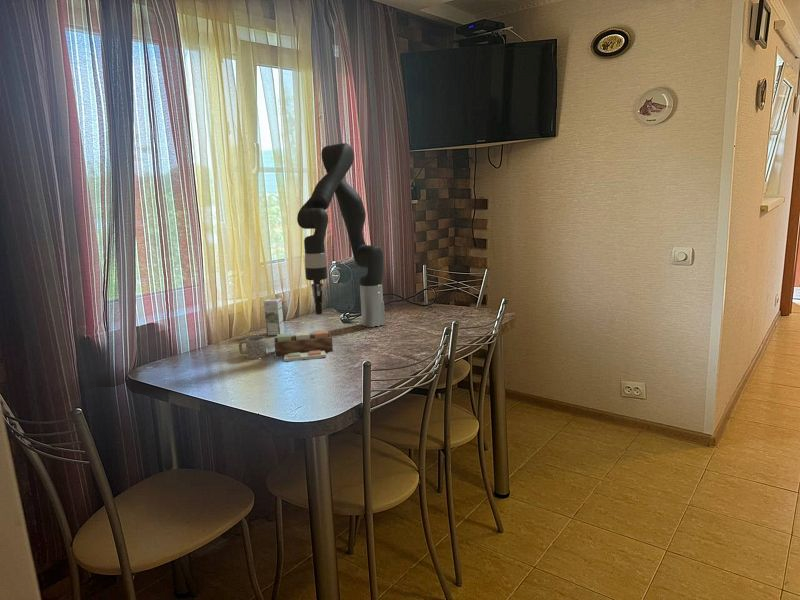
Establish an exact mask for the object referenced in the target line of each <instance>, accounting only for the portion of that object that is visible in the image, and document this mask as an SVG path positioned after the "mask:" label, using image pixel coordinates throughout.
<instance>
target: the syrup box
mask: <svg viewBox="0 0 800 600" xmlns="http://www.w3.org/2000/svg"><path fill="white" fill-rule="evenodd" d="M263 306H264V318H265V320H264V321H265V327H266V335H267V336H272V337H273V336H274V337H275V336H277V334H282V333H283V334H285V327H284V326H285V325H284V324H285V323H284V316H283V314H284V313H283V303H282V297H279V298H278V297H271V298H269V297H268V298H267V297H266V299H264V300H263Z"/></svg>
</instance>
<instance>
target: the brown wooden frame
mask: <svg viewBox="0 0 800 600" xmlns="http://www.w3.org/2000/svg"><path fill="white" fill-rule="evenodd" d="M291 340H292V341H285V342H278V340H277V336H276V337H275V336H274V353H275V358H280V357H281V356H282V357H284V355H287V354H289V353H297V352H300V353H306V352H309V351H317V350H321V351H325V353H330V351H331V352H334V348H333V347H334V346H333V337H332V334H331V332H330V331H328V337H326V338H314V333H310V339H305V340H296V335H291ZM282 357H281V358H282Z"/></svg>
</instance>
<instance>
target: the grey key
mask: <svg viewBox="0 0 800 600" xmlns="http://www.w3.org/2000/svg"><path fill="white" fill-rule="evenodd" d="M310 334H311V333H310V331H308V330H307V331H298V332H295V336H296V340H305V339H310Z"/></svg>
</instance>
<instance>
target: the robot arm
mask: <svg viewBox="0 0 800 600" xmlns="http://www.w3.org/2000/svg"><path fill="white" fill-rule="evenodd" d="M321 160H322V164H323V167H324V170H325V172H326V174H325V175H324V176H323V177H322V178H320V180H319V181H318V182H317V184H316V186H315V187H314V189H313V191H312V194H311V196H310V197H309V199H308V200H307V201H305V202H304V204H303V205H302V206H301V208H300V209H299V210H298V212H297V217H296V221H297V224H298V227H300V228H301V229H304V230H310V229H311V230H314V233H313V234H312V235H307V236H305V237H304V239H303V245H304V271H305V279H306V281H312V282H313V283H311V291H312V297H313V301H314V302H313V303H314V306H315V307H314V308H315V309H314V310H315V314H316V315H322V314H323V305H322V304H323V298H324V295H323V294H324V293H323V291H324V284H323V283H321V281H323V280H327V278H328V267H327V266H328V265H327V256H326V247H325V239H326V232H327V227H328V225H329V224H328V223H329V215H328V213H327V209H329V207H330V204H331V202H332V200H333V197H334V195H335V198H336V200H337V203H338V207H339V210H340V213H341V216H342V219H343V221H344V224H345V228H346V231H347V235H348V239H349V241H350V243H349V244H350V248H351V252H352V257H353V260H354V262H355V264H356V265H357V266H358V267H359V268H366V269H367V272H366V274H365V275H364V276H361V277H360V278H359V293H360V294H359V295H360V296H359V297H360V308H361V309H360V310H361V312H360V313H361V325H363V327H365V326H366V327H365V328H376V327H375V326H378V327H381V326H380V325H382V326H385V325H386V314H385V313H386V312H385V310H386V309H385V302H384V295H383V294H384V292H383V278H384V252H383V250H382V248H381V247H380V246H378V245H370V244H369V245H368V244H367V243H366V242H365V238H364V234H363V233H364V232H363V231H364V226H365V222H366V215H367V214H366V209H365V205H364V203H363V200H362V197H361V196H360V194H359V193H358V192H357V191H356V190H355V189H354V188H353V186H351V185H350V184H349V183H348V182H347V180H346V179H345V178H344V177H345V176H346V174H348V172H349V170H350V169H351V167H352V165H353V163H354V160H355V154H354V150H353V148H352V146H351V145H350V144H349V143H345V142H342V143H341V142H340V143H336V144H330V145H325V146H323V147H322V149H321Z"/></svg>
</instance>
